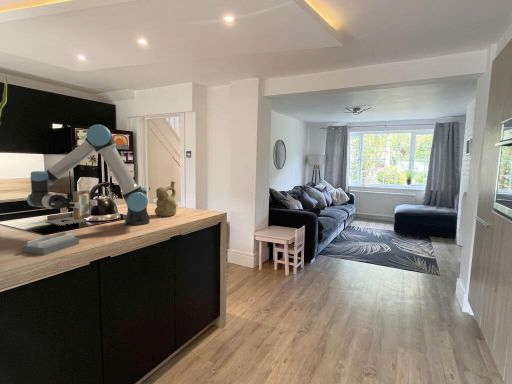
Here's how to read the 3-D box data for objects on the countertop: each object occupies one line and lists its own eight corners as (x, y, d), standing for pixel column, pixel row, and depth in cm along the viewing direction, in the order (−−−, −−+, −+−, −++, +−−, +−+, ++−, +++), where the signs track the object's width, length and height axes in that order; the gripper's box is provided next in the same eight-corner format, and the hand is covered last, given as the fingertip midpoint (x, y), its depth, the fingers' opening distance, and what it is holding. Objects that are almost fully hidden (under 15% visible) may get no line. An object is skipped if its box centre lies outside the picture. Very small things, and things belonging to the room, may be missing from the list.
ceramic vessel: (148, 216, 212) (148, 182, 210) (166, 211, 230) (166, 180, 227) (167, 218, 206) (166, 183, 203) (184, 214, 224) (184, 181, 221)
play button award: (92, 218, 194) (60, 224, 176) (92, 221, 194) (60, 226, 177) (79, 215, 202) (46, 220, 185) (79, 218, 202) (47, 223, 185)
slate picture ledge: (59, 241, 145) (59, 231, 144) (79, 243, 142) (78, 233, 141) (22, 252, 128) (21, 241, 127) (43, 255, 125) (43, 243, 124)
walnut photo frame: (86, 216, 155) (85, 190, 154) (90, 216, 155) (89, 190, 153) (73, 219, 146) (72, 192, 145) (78, 219, 146) (77, 192, 144)
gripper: (72, 205, 165) (105, 208, 160) (34, 211, 144) (70, 215, 138) (72, 192, 165) (105, 194, 159) (33, 196, 144) (69, 199, 138)
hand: (88, 204), depth 149 cm, fingers closed on walnut photo frame, 9 cm apart
